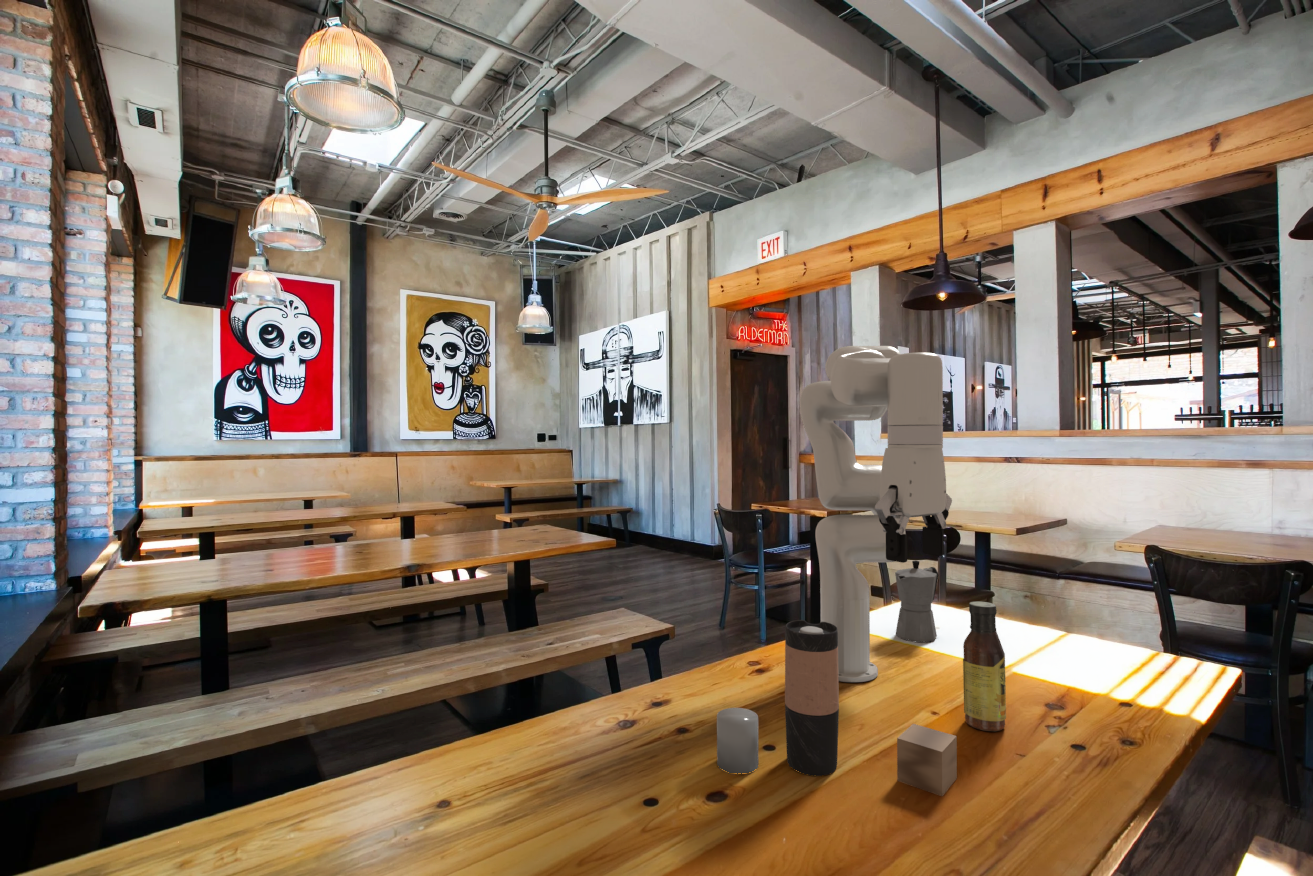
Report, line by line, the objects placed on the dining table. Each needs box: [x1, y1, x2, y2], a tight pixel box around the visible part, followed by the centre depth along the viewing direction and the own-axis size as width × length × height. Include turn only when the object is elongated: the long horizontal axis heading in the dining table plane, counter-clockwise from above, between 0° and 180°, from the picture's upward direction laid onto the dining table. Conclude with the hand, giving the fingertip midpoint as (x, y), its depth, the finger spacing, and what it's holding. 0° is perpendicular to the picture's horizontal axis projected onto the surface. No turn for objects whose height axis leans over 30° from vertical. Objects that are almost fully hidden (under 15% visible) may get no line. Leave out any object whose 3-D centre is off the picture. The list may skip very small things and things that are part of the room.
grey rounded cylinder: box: [716, 707, 759, 774], centre depth 95 cm, size 6×6×7 cm
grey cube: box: [896, 723, 958, 797], centre depth 91 cm, size 6×6×6 cm
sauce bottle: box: [962, 601, 1007, 733], centre depth 107 cm, size 7×6×20 cm
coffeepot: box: [894, 560, 940, 643], centre depth 155 cm, size 15×9×18 cm, turn 125°
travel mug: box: [784, 619, 840, 777], centre depth 95 cm, size 8×8×20 cm
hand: (915, 557), depth 95 cm, fingers open, 8 cm apart
